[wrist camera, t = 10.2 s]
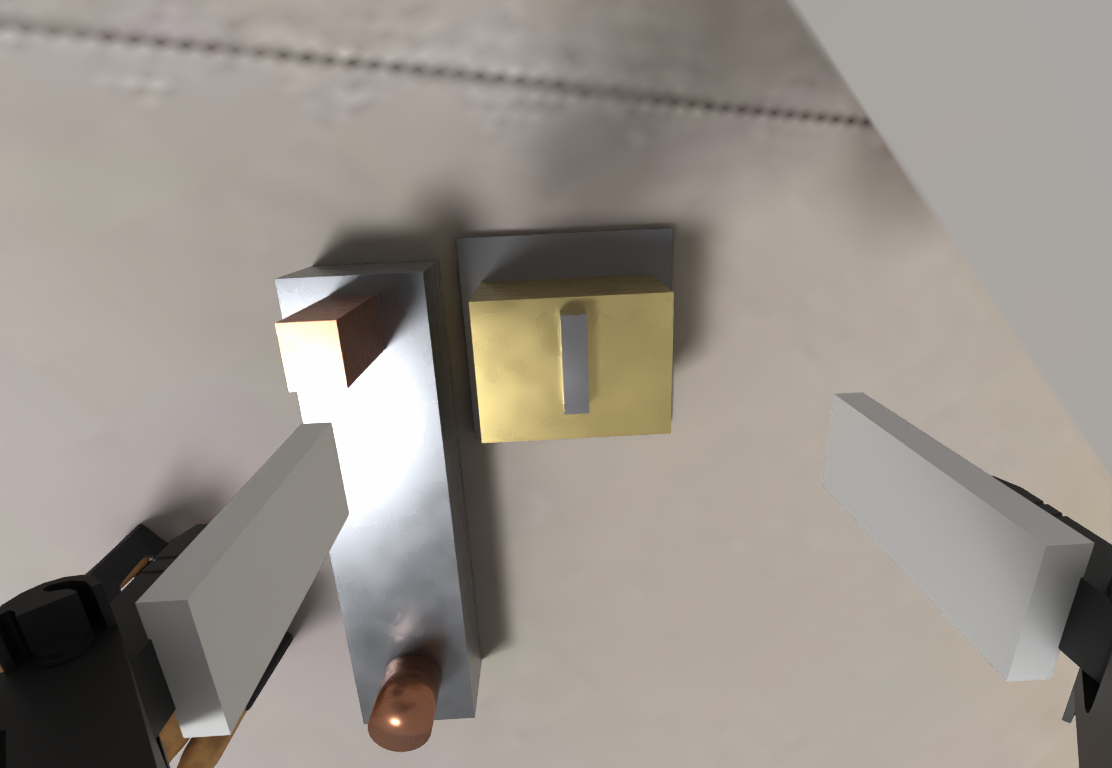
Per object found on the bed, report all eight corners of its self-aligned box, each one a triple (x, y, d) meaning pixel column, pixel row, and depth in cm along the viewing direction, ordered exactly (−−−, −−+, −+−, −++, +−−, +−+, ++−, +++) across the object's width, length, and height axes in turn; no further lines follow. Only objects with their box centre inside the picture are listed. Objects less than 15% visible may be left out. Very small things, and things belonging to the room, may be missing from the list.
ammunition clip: (294, 637, 34) (173, 861, 23) (274, 654, 34) (145, 883, 23) (140, 522, 31) (-85, 712, 20) (120, 542, 32) (-113, 740, 20)
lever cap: (480, 282, 27) (465, 307, 21) (650, 273, 27) (679, 296, 21) (491, 401, 29) (479, 453, 23) (649, 393, 29) (676, 443, 23)
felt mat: (457, 237, 27) (455, 238, 26) (670, 227, 27) (672, 228, 27) (476, 433, 30) (475, 438, 30) (666, 423, 30) (668, 428, 30)
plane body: (311, 266, 27) (208, 302, 19) (438, 260, 27) (393, 293, 19) (382, 666, 35) (332, 820, 26) (481, 660, 35) (463, 812, 26)
